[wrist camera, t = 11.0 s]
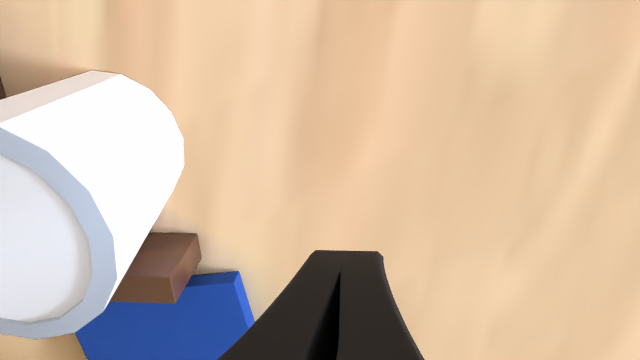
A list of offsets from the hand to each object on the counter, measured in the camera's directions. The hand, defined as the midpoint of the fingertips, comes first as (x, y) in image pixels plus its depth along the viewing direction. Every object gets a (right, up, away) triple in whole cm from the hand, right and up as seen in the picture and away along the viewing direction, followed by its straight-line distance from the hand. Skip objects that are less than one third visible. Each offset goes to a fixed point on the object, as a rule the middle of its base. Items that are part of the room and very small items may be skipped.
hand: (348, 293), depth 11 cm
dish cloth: (-7, -5, +14) cm, 16 cm away
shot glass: (-8, +4, +10) cm, 14 cm away
